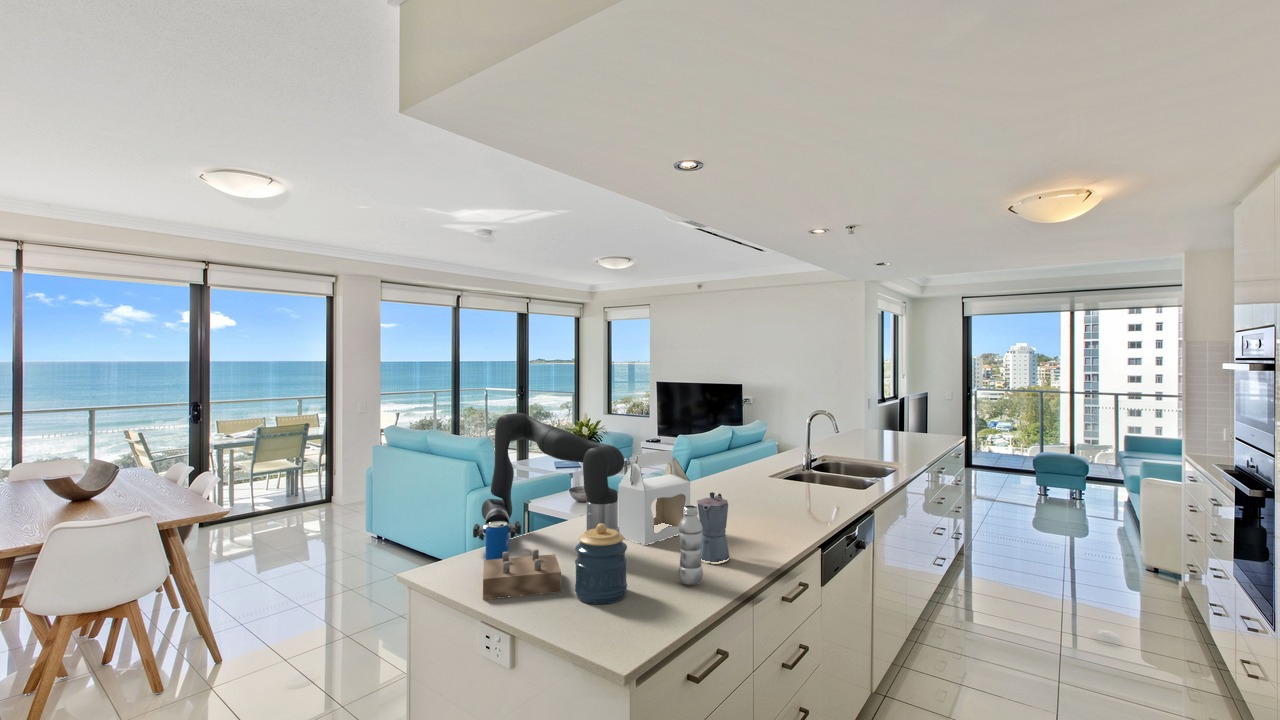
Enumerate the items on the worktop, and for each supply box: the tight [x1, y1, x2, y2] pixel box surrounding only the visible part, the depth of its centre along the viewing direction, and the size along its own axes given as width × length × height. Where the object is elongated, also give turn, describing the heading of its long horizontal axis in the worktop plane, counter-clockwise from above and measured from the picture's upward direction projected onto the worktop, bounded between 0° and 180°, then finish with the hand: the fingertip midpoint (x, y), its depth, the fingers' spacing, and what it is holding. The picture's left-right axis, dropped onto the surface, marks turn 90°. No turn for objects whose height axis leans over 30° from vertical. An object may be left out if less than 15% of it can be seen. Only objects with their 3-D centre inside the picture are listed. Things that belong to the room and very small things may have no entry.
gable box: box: [617, 449, 691, 546], centre depth 190 cm, size 22×13×28 cm, turn 133°
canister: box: [574, 523, 628, 605], centre depth 140 cm, size 13×13×18 cm
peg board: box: [482, 549, 562, 600], centre depth 146 cm, size 19×14×8 cm
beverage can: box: [484, 521, 510, 560], centre depth 160 cm, size 6×6×12 cm
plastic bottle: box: [677, 504, 704, 586], centre depth 147 cm, size 6×7×20 cm
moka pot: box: [696, 491, 730, 562], centre depth 166 cm, size 10×15×20 cm, turn 158°
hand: (497, 536), depth 166 cm, fingers open, 8 cm apart
